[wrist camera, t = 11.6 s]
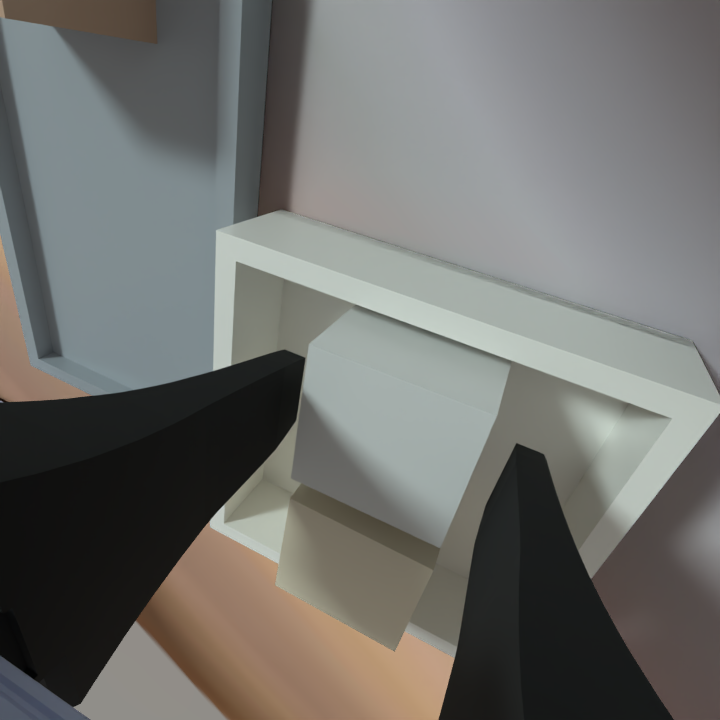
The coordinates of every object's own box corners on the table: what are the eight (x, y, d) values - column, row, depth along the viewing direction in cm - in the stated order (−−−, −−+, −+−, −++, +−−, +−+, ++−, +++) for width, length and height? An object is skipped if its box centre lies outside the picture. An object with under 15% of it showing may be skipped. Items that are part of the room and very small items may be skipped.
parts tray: (242, 441, 19) (223, 459, 18) (55, 353, 21) (30, 365, 20) (287, -227, 9) (252, -267, 8) (-61, -246, 12) (-120, -280, 11)
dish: (517, 603, 17) (507, 686, 14) (256, 475, 19) (209, 527, 17) (692, 340, 11) (724, 406, 8) (281, 209, 14) (215, 230, 11)
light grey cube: (472, 447, 14) (439, 548, 11) (353, 399, 15) (290, 478, 12) (519, 333, 12) (496, 416, 9) (377, 286, 13) (309, 344, 10)
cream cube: (430, 545, 17) (394, 651, 13) (331, 497, 17) (275, 584, 14) (466, 467, 14) (433, 570, 11) (351, 416, 15) (290, 498, 12)
